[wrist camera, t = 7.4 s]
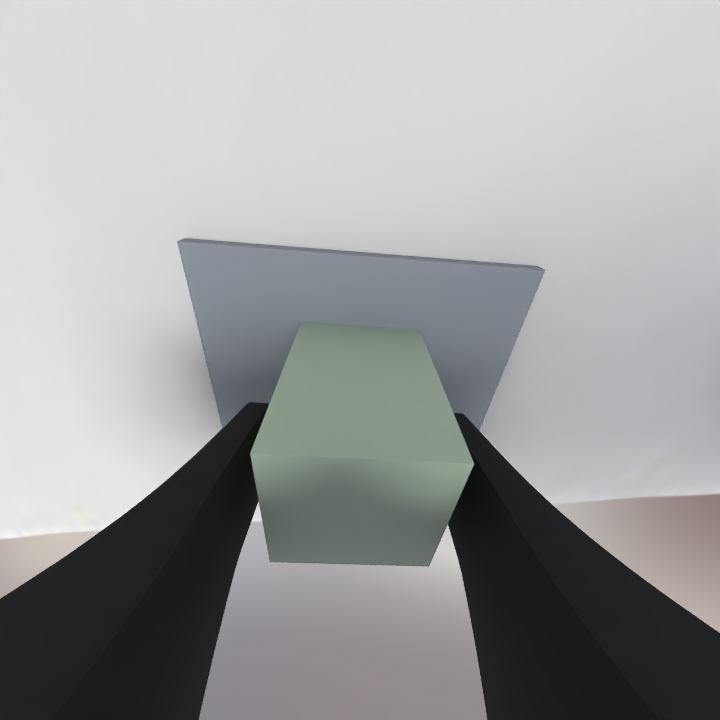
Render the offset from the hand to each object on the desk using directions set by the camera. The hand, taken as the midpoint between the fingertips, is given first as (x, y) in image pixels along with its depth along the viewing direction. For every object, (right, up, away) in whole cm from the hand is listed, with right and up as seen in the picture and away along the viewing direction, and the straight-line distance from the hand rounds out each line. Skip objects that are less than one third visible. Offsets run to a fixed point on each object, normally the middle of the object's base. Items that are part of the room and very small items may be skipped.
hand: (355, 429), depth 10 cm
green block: (0, +2, +2) cm, 3 cm away
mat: (0, +2, +3) cm, 3 cm away
